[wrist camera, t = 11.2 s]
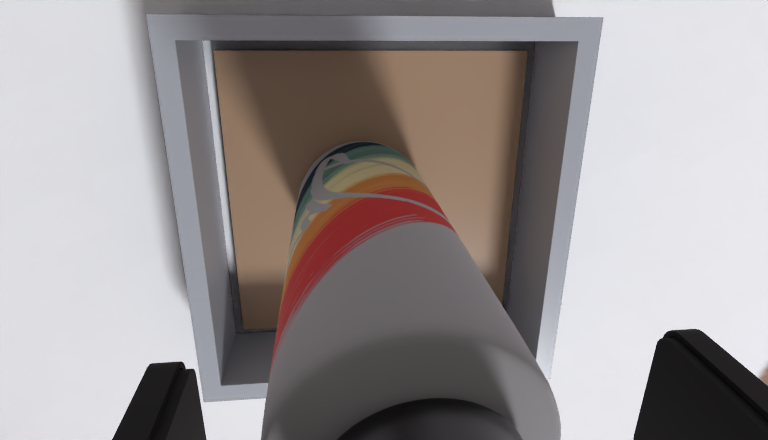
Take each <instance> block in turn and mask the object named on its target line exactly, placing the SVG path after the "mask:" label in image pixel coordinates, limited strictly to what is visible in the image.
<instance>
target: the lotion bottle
mask: <svg viewBox="0 0 768 440" xmlns="http://www.w3.org/2000/svg"><path fill="white" fill-rule="evenodd" d="M560 437H561V424H560V417H559V412H558V408H557V404H556V401H555V398H554V395H553V392H552V390H551V388H550V385H549V383H548V381H547V379H546V377H545V376H544V374H543V372H542V370H541V369H540V367H539V365H538V363H537V362H536V360H535V358H534V357H533V355H532V353H531V352H530V350H529V348H528V347H527V345H526V343H525V342H524V340H523V338H522V337H521V335H520V333H519V332H518V330H517V329H516V327H515V325H514V324H513V322H512V320H511V319H510V317H509V316H508V314H507V312H506V311H505V309H504V308H503V306H502V304H501V303H500V301H499V300H498V298H497V296H496V295H495V293H494V292H493V290H492V289H491V287H490V285H489V284H488V282H487V281H486V279H485V277H484V276H483V274H482V273H481V271H480V269H479V268H478V266H477V265H476V263H475V262H474V260H473V258H472V257H471V255H470V254H469V252H468V250H467V249H466V247H465V246H464V244H463V242H462V241H461V239H460V238H459V236H458V235H457V233H456V231H455V230H454V228H453V227H452V225H451V223H450V222H449V220H448V219H447V217H446V215H445V214H444V212H443V211H442V209H441V207H440V206H439V204H438V203H437V201H436V200H435V198H434V196H433V195H432V193H431V192H430V190H429V188H428V187H427V185H426V184H425V182H424V181H423V179H422V177H421V176H420V174H419V173H418V172H417V170H416V169H415V168H414V166H413V165H412V164H411V163H410V162H409V161H408V160H407V159H406V158H405V157H404V156H403V155H402V154H400V153H399V152H398V151H396V150H394V149H393V148H391V147H389V146H386V145H384V144H381V143H377V142H371V141H354V142H348V143H344V144H341V145H338V146H336V147H334V148H332V149H330V150H328V151H327V152H325V153H324V154H323V155H321V156H320V157H319V158H318V159H317V160H316V161H315V162H314V163H313V164H312V165H311V167H310V168H309V170H308V171H307V173H306V175H305V177H304V179H303V181H302V184H301V187H300V191H299V195H298V200H297V205H296V211H295V217H294V224H293V230H292V236H291V243H290V249H289V255H288V262H287V268H286V274H285V281H284V287H283V293H282V300H281V306H280V312H279V319H278V325H277V331H276V338H275V344H274V350H273V357H272V363H271V369H270V376H269V383H268V389H267V396H266V403H265V410H264V418H263V426H262V436H261V440H560Z"/></svg>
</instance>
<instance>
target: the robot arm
mask: <svg viewBox="0 0 768 440" xmlns="http://www.w3.org/2000/svg"><path fill="white" fill-rule="evenodd" d="M112 440H206V435H205V429H204V422H203V416H202V410H201V404H200V397H199V391H198V385H197V379H196V373H195V370H194V369H186V368H185V365H184V363H183V362H168V363H152V364H150V365H149V366H148V368H147V369H146V371H145V373H144V376H143V378H142V380H141V382H140V384H139V386H138V388H137V390H136V392H135V394H134V396H133V398H132V400H131V402H130V404H129V406H128V408H127V411H126V413H125V415H124V417H123V419H122V421H121V423H120V425H119V427H118V429H117V431H116V433H115V435H114V437H113V439H112ZM634 440H768V386H767V385H766V384H764V383H763V382H762V381H761V380H760V379H758V378H757V377H756V376H755V375H754V374H753V373H751V372H750V371H749V370H748V369H747V368H745V367H744V366H743V365H742V364H741V363H739V362H738V361H737V360H736V359H735V358H733V357H732V356H731V355H730V354H729V353H727V352H726V351H725V350H724V349H723V348H721V347H720V346H719V345H718V344H717V343H715V342H714V341H713V340H712V339H711V338H710V337H708V336H707V335H706V334H705V333H703V332H702V331H700V330H697V329H687V330H671V331H668V332H666V334H665V335H664V337H663V338H662V339H660V340H659V341H658V342H657V345H656V349H655V353H654V357H653V361H652V365H651V369H650V373H649V377H648V381H647V385H646V389H645V393H644V397H643V401H642V405H641V409H640V413H639V417H638V421H637V426H636V430H635V434H634Z"/></svg>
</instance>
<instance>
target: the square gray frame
mask: <svg viewBox="0 0 768 440" xmlns="http://www.w3.org/2000/svg"><path fill="white" fill-rule="evenodd" d="M146 17H147V24H148V31H149V38H150V44H151V51H152V58H153V64H154V71H155V78H156V85H157V91H158V98H159V105H160V111H161V118H162V125H163V131H164V138H165V145H166V152H167V158H168V165H169V172H170V178H171V185H172V192H173V199H174V205H175V212H176V219H177V225H178V232H179V239H180V246H181V252H182V259H183V266H184V272H185V279H186V286H187V293H188V299H189V306H190V313H191V319H192V326H193V333H194V339H195V346H196V353H197V360H198V366H199V373H200V380H201V386H202V393H203V400H204V402H215V401H230V400H244V399H259V398H266V396H267V389H268V383H269V376H270V369H271V363H272V357H273V350H274V344H275V338H276V331H272V332H254V333H236V331H235V323H234V314H233V305H232V296H231V288H230V279H229V270H228V261H227V253H226V244H225V235H224V227H223V218H222V209H221V200H220V192H219V183H218V174H217V165H216V157H215V148H214V139H213V131H212V122H211V113H210V104H209V96H208V87H207V78H206V70H205V61H204V52H203V43H202V40H277V41H536V43H535V52H534V62H533V71H532V81H531V90H530V100H529V109H528V119H527V128H526V138H525V147H524V157H523V166H522V176H521V185H520V195H519V204H518V214H517V223H516V232H515V242H514V251H513V261H512V270H511V280H510V289H509V299H508V308H507V314H508V316H509V317H510V319H511V320H512V322H513V324H514V325H515V327H516V329H517V330H518V332H519V333H520V335H521V337H522V338H523V340H524V342H525V343H526V345H527V347H528V348H529V350H530V352H531V353H532V355H533V357H534V358H535V360H536V362H537V363H538V365H539V367H540V369H541V370H542V372H543V374H544V376H545V377H546V379H550V375H551V368H552V362H553V355H554V348H555V341H556V334H557V328H558V321H559V314H560V307H561V301H562V294H563V287H564V280H565V274H566V267H567V260H568V253H569V247H570V240H571V233H572V226H573V219H574V213H575V206H576V199H577V192H578V186H579V179H580V172H581V165H582V159H583V152H584V145H585V138H586V131H587V125H588V118H589V111H590V104H591V98H592V91H593V84H594V77H595V71H596V64H597V57H598V50H599V43H600V37H601V30H602V23H603V17H473V16H341V15H209V14H146ZM527 54H528V51H524V50H215V51H214V61H215V70H216V79H217V88H218V98H219V107H220V116H221V125H222V135H223V144H224V153H225V162H226V172H227V181H228V190H229V200H230V209H231V218H232V227H233V237H234V246H235V255H236V264H237V274H238V283H239V292H240V301H241V311H242V320H243V329H244V330H252V329H270V328H277V325H278V319H279V312H280V306H281V300H282V293H283V287H284V281H285V274H286V268H287V262H288V255H289V249H290V243H291V236H292V230H293V224H294V217H295V211H296V205H297V200H298V195H299V191H300V187H301V184H302V181H303V179H304V177H305V175H306V173H307V171H308V170H309V168H310V167H311V165H312V164H313V163H314V162H315V161H316V160H317V159H318V158H319V157H320V156H321V155H323V154H324V153H325V152H327V151H328V150H330V149H332V148H334V147H336V146H338V145H341V144H344V143H348V142H354V141H371V142H377V143H381V144H384V145H386V146H389V147H391V148H393V149H394V150H396V151H398V152H399V153H400V154H402V155H403V156H404V157H405V158H406V159H407V160H408V161H409V162H410V163H411V164H412V165H413V166H414V168H415V169H416V170H417V172H418V173H419V174H420V176H421V177H422V179H423V181H424V182H425V184H426V185H427V187H428V188H429V190H430V192H431V193H432V195H433V196H434V198H435V200H436V201H437V203H438V204H439V206H440V207H441V209H442V211H443V212H444V214H445V215H446V217H447V219H448V220H449V222H450V223H451V225H452V227H453V228H454V230H455V231H456V233H457V235H458V236H459V238H460V239H461V241H462V242H463V244H464V246H465V247H466V249H467V250H468V252H469V254H470V255H471V257H472V258H473V260H474V262H475V263H476V265H477V266H478V268H479V269H480V271H481V273H482V274H483V276H484V277H485V279H486V281H487V282H488V284H489V285H490V287H491V289H492V290H493V292H494V293H495V295H496V296H497V298H498V300H499V301H500V303H501V304H502V302H503V292H504V282H505V272H506V263H507V253H508V243H509V233H510V223H511V213H512V203H513V193H514V183H515V173H516V163H517V153H518V144H519V134H520V124H521V114H522V104H523V94H524V84H525V74H526V64H527Z"/></svg>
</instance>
